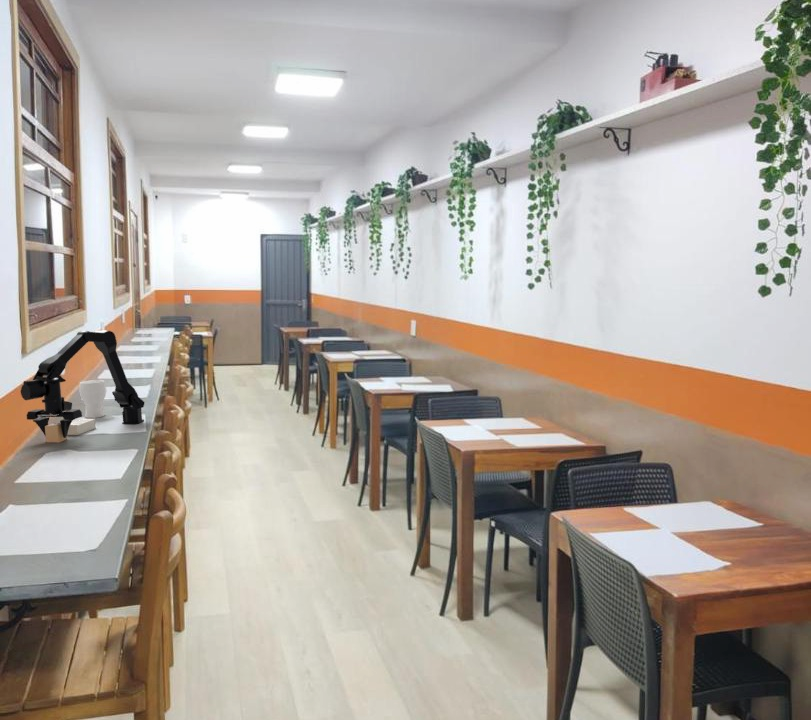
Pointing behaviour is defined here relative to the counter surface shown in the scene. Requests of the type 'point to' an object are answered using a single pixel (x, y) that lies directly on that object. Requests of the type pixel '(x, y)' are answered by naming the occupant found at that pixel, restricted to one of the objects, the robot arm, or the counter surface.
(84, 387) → the cup
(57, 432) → the light brown cardboard box
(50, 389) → the robot arm
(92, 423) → the white slotted tower
